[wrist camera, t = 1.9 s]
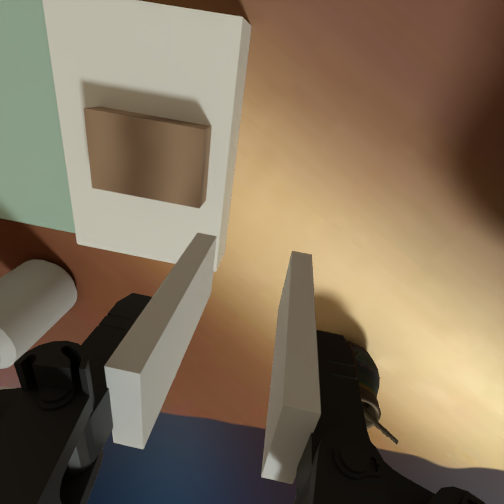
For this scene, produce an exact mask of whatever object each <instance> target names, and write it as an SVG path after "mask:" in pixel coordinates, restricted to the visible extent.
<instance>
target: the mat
mask: <svg viewBox="0 0 504 504" xmlns="http://www.w3.org/2000/svg"><path fill="white" fill-rule="evenodd" d="M0 218H2V219H7V220H12V221H17V222H22V223H27V224H32V225H37V226H42V227H47V228H52V229H57V230H62V231H67V232H72V233H76V232H75V225H74V218H73V211H72V204H71V197H70V190H69V183H68V176H67V169H66V162H65V155H64V148H63V141H62V134H61V127H60V120H59V113H58V106H57V99H56V92H55V85H54V78H53V71H52V65H51V58H50V51H49V44H48V37H47V30H46V23H45V16H44V9H43V2H42V0H0Z"/></svg>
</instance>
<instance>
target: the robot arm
mask: <svg viewBox="0 0 504 504" xmlns="http://www.w3.org/2000/svg"><path fill="white" fill-rule="evenodd" d="M216 238H217V236H213V235H208V234H203V233H198V232H197V234H196V235H195V237H194V238H193V240H192V241H191V243H190V244H189V245H188V247H187V248H186V250H185V251H184V253H183V254H182V255H181V257H180V258H179V260H178V261H177V263H176V264H175V265H174V267H173V268H172V270H171V271H170V273H169V274H168V275H167V277H166V278H165V280H164V281H163V283H162V284H161V285H160V287H159V288H158V290H157V291H156V293H155V294H154V296H153V297H150V296H145V295H140V294H135V293H132V294H130V295H128V296H127V297H125V298H123V299H122V300H120V301H118V302H117V303H116V304H115V306H114V307H113V308H112V309H111V310H110V312H109V313H108V315H107V316H105V317H104V319H103V320H102V321H101V322H100V323H99V326H97V327H96V328H95V329H94V331H93V332H92V333H91V334H90V335H89V336H88V338H87V339H86V340H85V341H84V342H83V344H82V345H81V346H80V345H79V344H77V343H73V342H70V341H53V342H49V343H46V344H42V345H39V346H37V347H35V348H33V349H31V350H29V351H27V352H26V353H24V354H23V355H22V356H21V357H20V358H19V359H18V360H16V361H15V362H14V366H15V369H16V372H17V375H18V378H19V381H20V384H21V387H22V388H15V389H2V390H0V504H86V503H87V501H88V498H89V496H90V493H91V490H92V488H93V485H94V482H95V480H96V477H97V474H98V472H99V469H100V467H101V463H102V457H103V451H102V447H103V446H104V444H105V442H106V440H107V438H108V436H109V434H110V433H111V431H112V434H113V442H114V443H118V444H123V445H127V446H131V447H136V448H140V449H144V446H145V444H146V442H147V439H148V437H149V435H150V433H151V430H152V428H153V426H154V423H155V421H156V419H157V416H158V414H159V412H160V410H161V407H162V405H163V403H164V400H165V398H166V396H167V393H168V391H169V389H170V386H171V384H172V382H173V379H174V377H175V375H176V373H177V370H178V368H179V366H180V363H181V361H182V359H183V356H184V354H185V352H186V349H187V347H188V345H189V343H190V340H191V338H192V336H193V333H194V331H195V329H196V326H197V324H198V322H199V319H200V317H201V315H202V312H203V310H204V308H205V306H206V303H207V301H208V299H209V296H210V294H211V288H212V278H213V268H214V258H215V248H216ZM354 366H355V363H354V358H353V352H352V349H351V347H350V346H349V344H348V343H347V341H346V340H345V338H344V337H343V335H338V334H333V333H329V332H324V331H319V330H316V319H315V301H314V284H313V267H312V255H311V254H306V253H300V252H295V251H292V253H291V257H290V262H289V266H288V270H287V274H286V278H285V283H284V287H283V291H282V295H281V299H280V304H279V309H278V319H277V328H276V338H275V348H274V357H273V367H272V377H271V386H270V396H269V406H268V415H267V425H266V435H265V445H264V454H263V464H262V473H261V477H264V478H268V479H272V480H277V481H281V482H285V483H290V484H292V483H293V481H294V479H295V477H296V474H297V478H296V479H297V480H296V499H295V501H294V503H293V504H485V503H484V502H483V501H481V500H480V499H478V498H477V497H475V496H474V495H472V494H471V493H469V492H468V491H465V490H462V489H459V488H456V487H445V488H441V489H440V490H439V491H438V492H437V493H436V494H434V493H432V492H430V491H429V490H427V489H425V488H423V487H422V486H420V485H418V484H416V483H414V482H413V481H411V480H409V479H407V478H406V477H404V476H402V475H401V474H399V473H398V472H396V471H395V470H393V469H392V468H391V467H390V466H389V465H387V463H385V462H384V460H383V458H382V457H381V455H380V453H379V452H378V450H377V449H376V447H375V446H374V445H373V444H372V443H371V441H370V438H369V435H368V432H367V427H366V422H365V416H364V411H363V406H362V400H361V395H360V390H359V384H358V381H357V374H356V368H355V367H354Z"/></svg>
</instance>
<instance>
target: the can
mask: <svg viewBox="0 0 504 504" xmlns="http://www.w3.org/2000/svg"><path fill="white" fill-rule="evenodd" d="M76 300H77V291H76V287H75V284H74V281H73V279H72V278H71V276H70V275H69V274H68V273H67V272H66V271H65V270H64V269H63V268H61V267H60V266H58V265H56V264H53V263H50V262H47V261H44V260H36V259H33V260H29V261H26V262H24V263H23V264H21V265H20V266H18V267H16V268H15V269H13V270H12V271H10V272H9V273H7V274H6V275H4V276H3V277H1V278H0V369H2V368H8V367H9V366H11V365H12V364H14V362H15V361H16V360H18V359H19V358H20V357H21V356H22V355H23V354H24V353H25V352H26V351H27V350H28V349H29V348H30V347H31V346H32V345H33V344H34V343H35V342H36V341H38V340H39V339H40V338H41V337H42V336H43V335H44V334H45V333H46V332H47V331H48V330H49V329H50V328H51V327H52V326H53V325H54V324H55V323H56V322H57V321H58V320H59V319H60V318H61V317H62V316H63V315H64V314H65V313H66V312H67V311H68V310H69V309H70V308H71V307H72V306H73V305H74V304H75V302H76Z"/></svg>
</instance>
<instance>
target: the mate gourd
mask: <svg viewBox="0 0 504 504" xmlns="http://www.w3.org/2000/svg"><path fill="white" fill-rule="evenodd" d="M347 343H348V344H349V346H350V347H351V349H352V352H353V358H354V363H355V366H354V367H355V368H356V374H357V381H358V384H359V390H360V395H361V400H362V406H363V411H364V416H365V422H366V427H367V429H369V428H371V427H373V426H374V425H375V426H376V428H378V429H380V430H381V431H382V433H383V434H385V435H386V436H387V437H390V439H391V440H393V442H395V443H396V444H398V440H397V439H396V438H395V437H393V436H392V435H391V434H390V433H389V431H387V429H385V428H384V427H383V426H382V425H381V424H380V423H379V422H378V421H379V419H380V416H381V411H380V408H379V404H378V401H377V393H378V389H379V378H380V377H379V372H378V369H377V366H376V365H375V363H374V361H373V359H372V358H371V357H370V355H369V354H368V352H367V351H366V350H365V349H363V348H362V347H360V346H358V345H355V344H353V343H350V342H347Z"/></svg>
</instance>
